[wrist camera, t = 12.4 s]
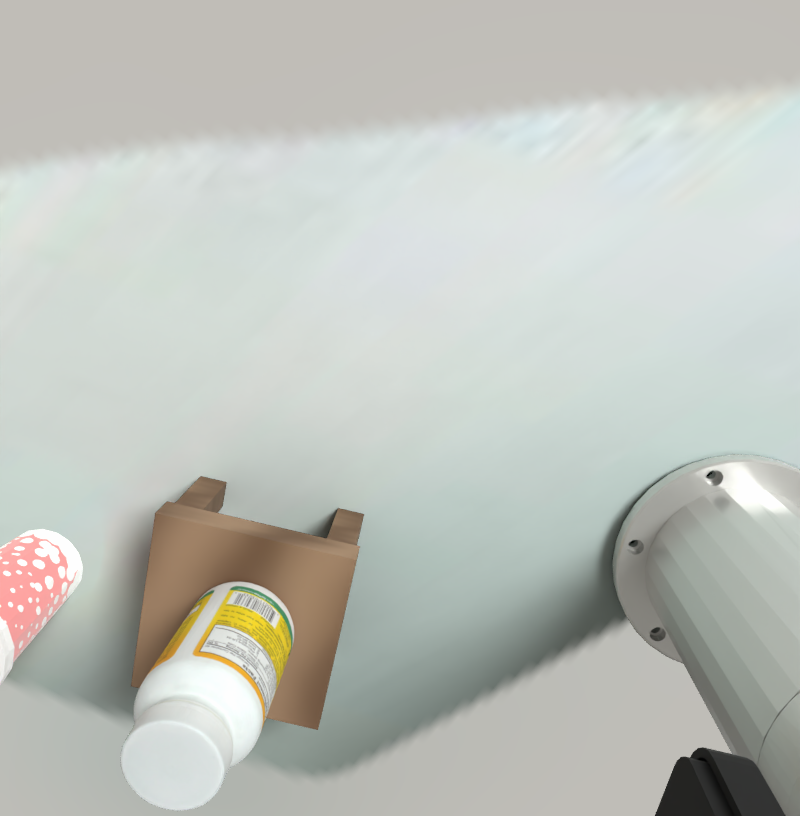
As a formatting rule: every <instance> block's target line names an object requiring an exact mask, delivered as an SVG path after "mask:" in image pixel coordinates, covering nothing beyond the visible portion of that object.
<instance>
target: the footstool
mask: <svg viewBox="0 0 800 816" xmlns="http://www.w3.org/2000/svg"><path fill="white" fill-rule="evenodd" d="M226 483H227V482H223V481H219V480H215V479H210V478H206V477H202V476H201V477H200V478H199V479H198V480H197V481H196V482H195V483H194V484H193V485H192V486H191V487H190V488H189V489H188V490H187V491H186V492H185V493H184V494H183V495H182V496H181V497H180V498H179V499H178V501H177V502H176V503H172V502H166V503H165V504H164V505H163V506H162V507H161V508H160V509H159V510H158V511H157V512H156V513H155V519H154V527H153V534H152V541H151V548H150V555H149V562H148V569H147V576H146V583H145V590H144V598H143V605H142V612H141V619H140V626H139V633H138V640H137V647H136V654H135V661H134V668H133V676H132V683H131V686H132V687H137V688H140V686H141V684H142V683H143V681H144V679H145V678H146V676H147V675H148V673H149V672H150V670H151V669H152V667H153V666H154V665H155V663H156V661H157V660H158V659H159V657H160V656H161V654H162V653H163V651H164V650H165V648H166V647H167V645H168V644H169V642H170V641H171V639H172V638H173V636H174V635H175V633H176V632H177V631H178V629H179V628H180V626H181V625H182V623H183V621H184V620H185V619H186V617H187V616H188V614H189V613H190V611H191V610H192V608H193V607H194V605H195V604H196V603H197V601H198V600H199V599H200V598H201V597H202V596H203V595H204V594H205V593H206V592H207V591H208V590H210V589H211V588H213V587H216V586H218V585H221V584H224V583H228V582H248V583H253V584H256V585H259V586H261V587H264V588H266V589H267V590H269V591H271V592H272V593H273V594H274V595H276V596H277V597H278V598H279V599H280V600H281V601H282V602H283V603H284V605H285V606H286V608H287V609H288V611H289V613H290V616H291V618H292V621H293V625H294V642H293V646H292V649H291V652H290V655H289V658H288V660H287V663H286V665H285V668H284V671H283V674H282V676H281V679H280V682H279V684H278V687H277V690H276V692H275V695H274V698H273V701H272V703H271V706H270V708H269V711H268V714H267V717H266V718H269V719H273V720H278V721H282V722H286V723H291V724H295V725H299V726H303V727H308V728H312V729H316V730H318V727H319V723H320V719H321V715H322V711H323V707H324V702H325V698H326V693H327V689H328V685H329V680H330V676H331V671H332V667H333V663H334V658H335V654H336V649H337V645H338V641H339V636H340V632H341V627H342V623H343V619H344V614H345V610H346V605H347V601H348V596H349V592H350V588H351V583H352V579H353V574H354V570H355V566H356V561H357V557H358V552H359V548H360V546H357V542H358V539H359V534H360V530H361V525H362V521H363V517H364V514H361V513H357V512H352V511H348V510H344V509H339V508H338V510H337V513H336V515H335V518H334V521H333V523H332V526H331V529H330V531H329V534H328V537H327V539H326V538H322V537H318V536H314V535H309V534H305V533H301V532H296V531H292V530H288V529H283V528H279V527H275V526H271V525H266V524H262V523H258V522H253V521H249V520H245V519H240V518H236V517H232V516H228V515H223V514H219V513H218V511H219V510H220V509H221V508H222V506H223V501H224V495H225V489H226Z"/></svg>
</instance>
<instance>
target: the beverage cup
mask: <svg viewBox="0 0 800 816" xmlns="http://www.w3.org/2000/svg"><path fill="white" fill-rule="evenodd" d="M82 571H83V565H82V562H81V558H80V555H79V553H78V551H77V550H76V549H75V547H74V546H73V545H72V543H71V542H70V541H69V540H67V539H66V538H64V537H63V536H61V535H60V534H58V533H56V532H52V531H48V530H44V529H38V530H30V531H27V532H25V533H23V534H22V535H20V536H18V537H17V538H15V539H13V540H12V541H10V542H9V543H7V544H5V545H4V546H2V547H0V685H1V684H2V683H3V681H4V680H5V678H6V677H7V675H8V674H9V672H10V671H11V669H12V667H13V662H14V661H15V660H16V659H17V658H18V656H19V655H20V654H21V653H22V652H23V651H24V649H25V648H26V647H27V646H28V645H29V643H30V642H31V641H32V640H33V639H34V638H35V636H36V635H37V634H38V633H39V632H40V630H41V629H42V628H43V627H44V626H45V625H46V623H47V622H48V621H49V620H50V619H51V618H52V616H53V615H54V614H55V613H56V612H57V610H58V609H59V608H60V607H61V606H62V605H63V603H64V602H65V601H66V600H67V599H68V597H69V596H70V595H71V594H72V593H73V592H74V590H75V589H76V587H77V586H78V584H79V583H80V581H81V578H82Z"/></svg>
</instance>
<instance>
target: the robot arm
mask: <svg viewBox="0 0 800 816" xmlns="http://www.w3.org/2000/svg"><path fill="white" fill-rule="evenodd" d="M712 470H713V473H712V474H711V475H710V476H707V474H708V473H709V472H710V471H712ZM632 540H636V541H635V542H634V543H632V544H629V542H631V541H632ZM613 581H614V585H615V588H616V592H617V596H618V599H619V602H620V604H621V606H622V608H623V610H624V613H625V615H626V617H627V618H628V620H629V621H630V623H631V624H632V626H633V627H634V629H635V630H636V632H637V633H638V634H639V635H640V636H641V637H642V638H643V639H644V640H645V641H646V642H647V643H648V644H649V645H650V646H652V647H653V648H655V649H657V650H658V651H659V652H661V653H662V654H664V655H665V656H667V657H669V658H671V659H674V660H676V661H678V662H681V663H683V664H684V665H685V667H686V669H687V671H688V673H689V674H690V676H691V678H692V680H693V682H694V683H695V685H696V687H697V689H698V691H699V693H700V695H701V697H702V698H703V701H704V702H705V704H706V706H707V708H708V710H709V712H710V714H711V715H712V717H713V719H714V721H715V723H716V725H717V727H718V729H719V730H720V732H721V734H722V736H723V738H724V740H725V742H726V743H727V745H728V747H729V749H730V751H731V753H732V754H729V753H724V752H720V751H715V750H711V749H707V748H698V749H697V750H696V751H694V752H693V754H692V755H691V757H690V758H688V757H681V758H680V759H679V760H677V762H676V764H675V766H674V769H673V771H672V774H671V776H670V779H669V781H668V784H667V786H666V789H665V792H664V794H663V797H662V799H661V802H660V805H659V807H658V809H657V812H656V814H655V816H800V469H798V468H795V467H793V466H791V465H789V464H786V463H784V462H782V461H780V460H775V459H771V458H767V457H762V456H758V455H739V454H733V455H725V456H717V457H710V458H707V459H704V460H701V461H697V462H694V463H691V464H688V465H686V466H684V467H682V468H680V469H678V470H676V471H674V472H672V473H670V474H668V475H667V476H666V477H664V478H663V479H662V480H660V481H659V482H658V483H656V484H655V485H653V486H652V487H651V488H650V489H649V490H648V491H647V492H646V493H645V494H644V495H643V496H642V497H641V498H640V499H639V500H638V501H637V503H636V504H635V505H634V506H633V508H632V509H631V511H630V513H629V514H628V516H627V517H626V519H625V521H624V522H623V524H622V527H621V530H620V532H619V535H618V537H617V540H616V544H615V550H614V556H613Z"/></svg>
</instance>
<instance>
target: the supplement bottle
mask: <svg viewBox="0 0 800 816" xmlns="http://www.w3.org/2000/svg"><path fill="white" fill-rule="evenodd" d="M293 642H294V625H293V621H292V618H291V616H290V613H289V611H288V609H287V608H286V606H285V605H284V603H283V602H282V601H281V600H280V599H279V598H278V597H277V596H276V595H274V594H273V593H272V592H271V591H269V590H267V589H266V588H264V587H261V586H259V585H256V584H253V583H248V582H228V583H224V584H221V585H218V586H216V587H213V588H211V589H210V590H208V591H207V592H206V593H205V594H204V595H203V596H202V597H201V598H200V599H199V600H198V601H197V603H196V604H195V605H194V607H193V608H192V610H191V611H190V613H189V614H188V616H187V617H186V619H185V620H184V621H183V623H182V625H181V626H180V628H179V629H178V631H177V632H176V633H175V635H174V636H173V638H172V639H171V641H170V642H169V644H168V645H167V647H166V648H165V650H164V651H163V653H162V654H161V656H160V657H159V659H158V660H157V661H156V663H155V665H154V666H153V667H152V669H151V670H150V672H149V673H148V675H147V676H146V678H145V679H144V681H143V683H142V684H141V686H140V688H139V690H138V693H137V696H136V699H135V704H134V722H135V724H134V726H133V728H132V730H131V732H130V733H129V735H128V737H127V738H126V740H125V742H124V745H123V747H122V750H121V759H120V761H121V768H122V772H123V775H124V777H125V779H126V781H127V783H128V784H129V786H130V787H131V788H132V789H133V790H134V792H135V793H137V794H138V795H139V796H140V797H141V798H142V799H144V800H145V801H147V802H149V803H151V804H153V805H155V806H157V807H160V808H164V809H168V810H177V811H179V810H180V811H181V810H190V809H193V808H196V807H199V806H202V805H203V804H205V803H207V802H208V801H209V800H210V799H212V798H213V797H214V796H215V795H216V793H217V792H218V791H219V789H220V787H221V785H222V783H223V781H224V779H225V776H226V774H227V772H228V770H229V768H231V767H233V766H235V765H236V764H238V763H239V762H241V761H242V760H243V759H244V758H245V757H246V756H247V755H248V754H249V753H250V752H251V750H252V749H253V747H254V746H255V744H256V742H257V740H258V738H259V736H260V733H261V730H262V728H263V725H264V722H265V719H266V717H267V714H268V711H269V708H270V706H271V703H272V701H273V698H274V695H275V692H276V690H277V687H278V684H279V682H280V679H281V676H282V674H283V671H284V668H285V665H286V663H287V660H288V658H289V655H290V652H291V649H292V646H293Z"/></svg>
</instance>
